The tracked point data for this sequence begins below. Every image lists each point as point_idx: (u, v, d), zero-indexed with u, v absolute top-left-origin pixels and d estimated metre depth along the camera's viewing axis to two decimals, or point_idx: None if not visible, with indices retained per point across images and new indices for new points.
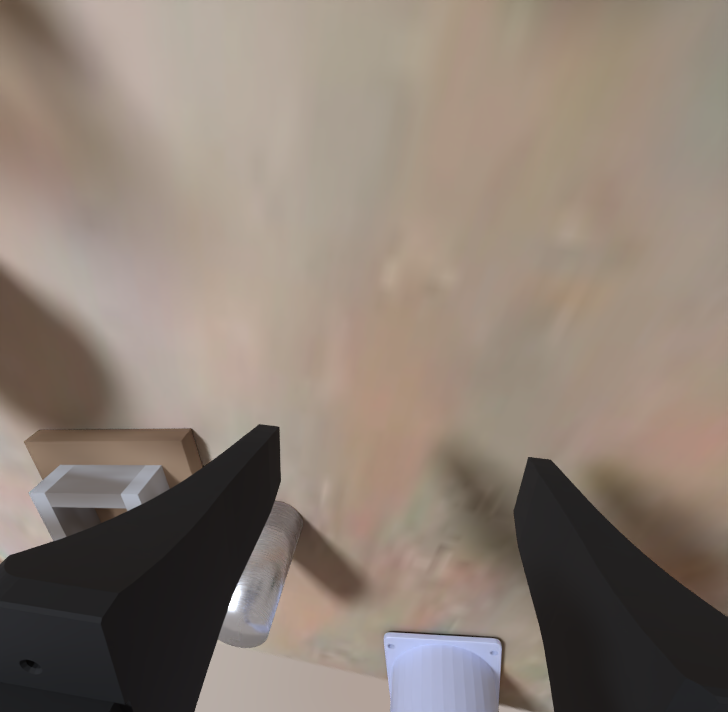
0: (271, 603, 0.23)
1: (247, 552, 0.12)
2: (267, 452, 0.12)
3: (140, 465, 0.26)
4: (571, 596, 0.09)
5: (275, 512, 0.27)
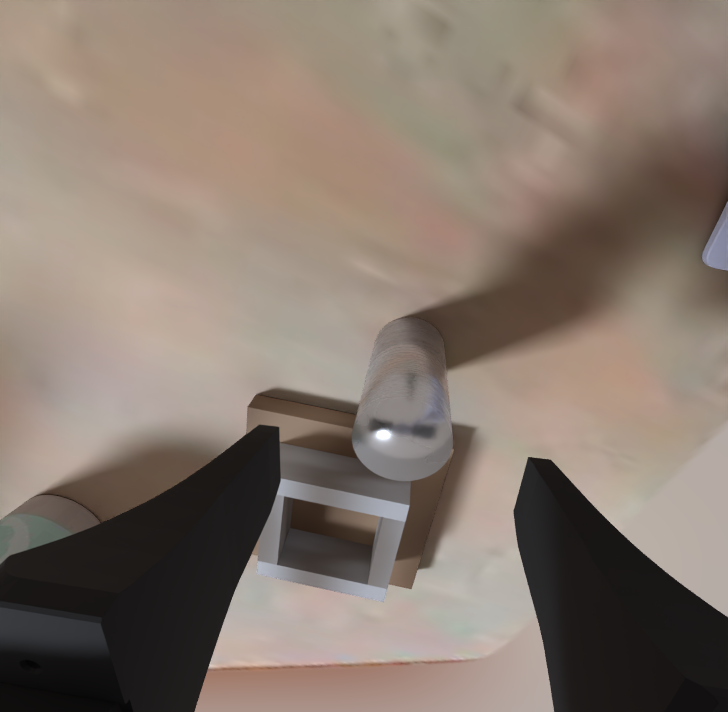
0: (399, 381, 0.15)
1: (247, 552, 0.12)
2: (267, 452, 0.12)
3: None
4: (571, 596, 0.09)
5: (375, 343, 0.20)
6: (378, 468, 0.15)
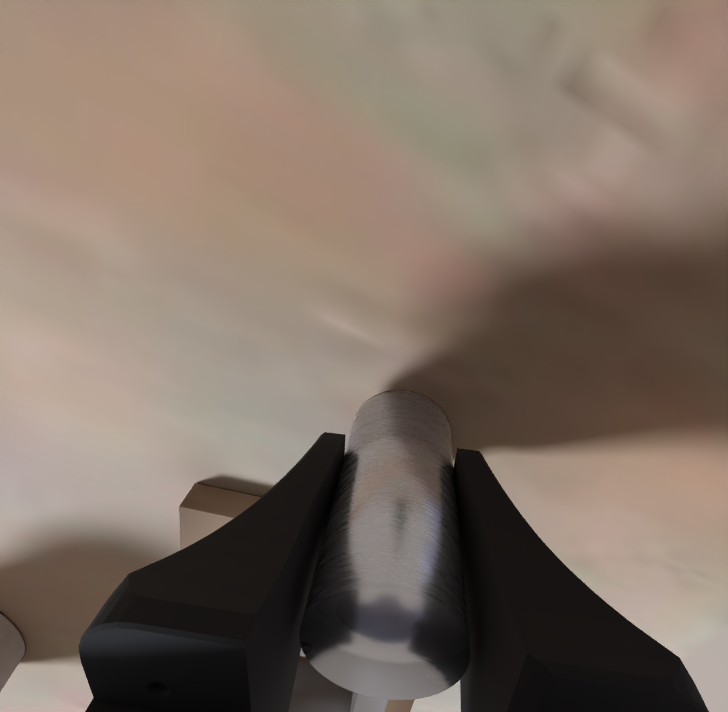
0: (380, 542, 0.09)
1: None
2: (338, 461, 0.12)
3: None
4: (475, 582, 0.09)
5: (352, 429, 0.14)
6: (345, 680, 0.09)
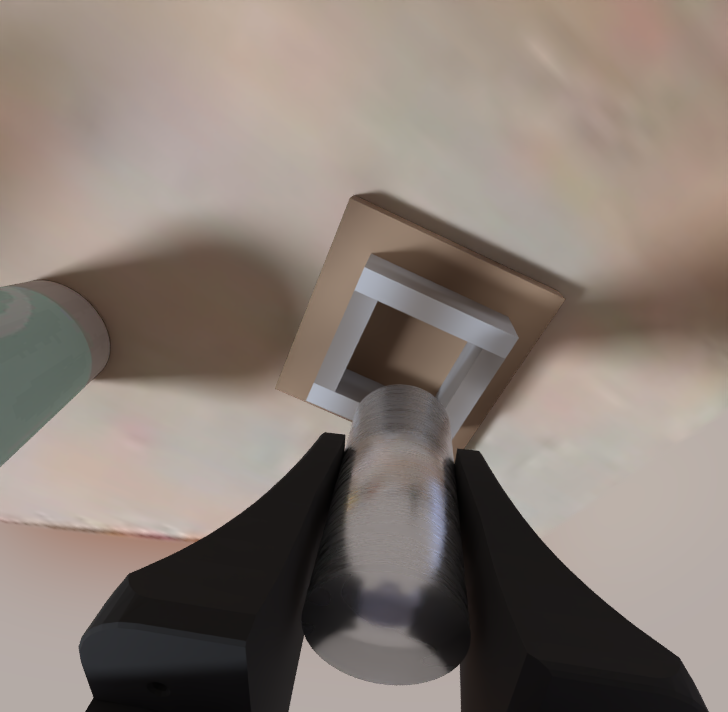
0: (386, 526, 0.09)
1: None
2: (338, 461, 0.12)
3: (359, 281, 0.20)
4: (475, 582, 0.09)
5: (354, 420, 0.14)
6: (343, 664, 0.09)
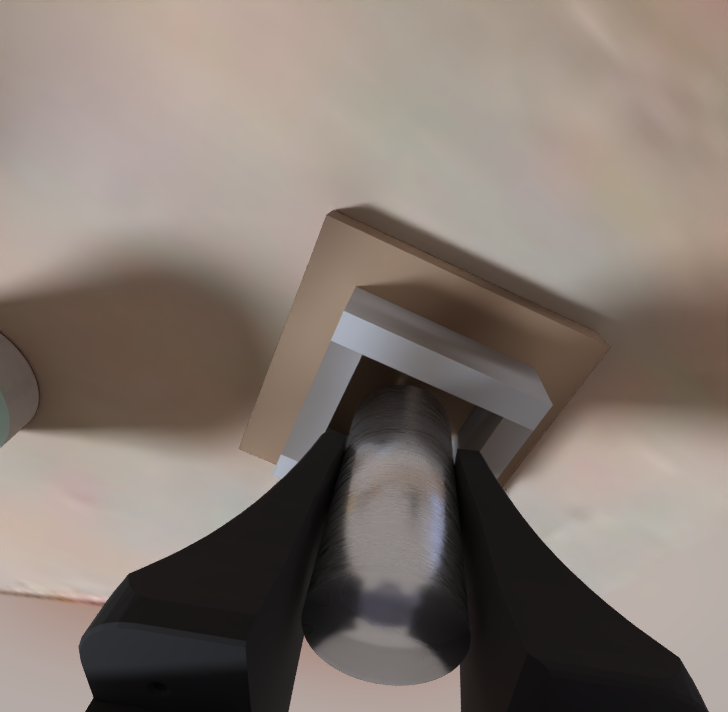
0: (386, 527, 0.09)
1: None
2: (338, 461, 0.12)
3: (340, 321, 0.15)
4: (475, 582, 0.09)
5: (354, 421, 0.14)
6: (344, 664, 0.09)
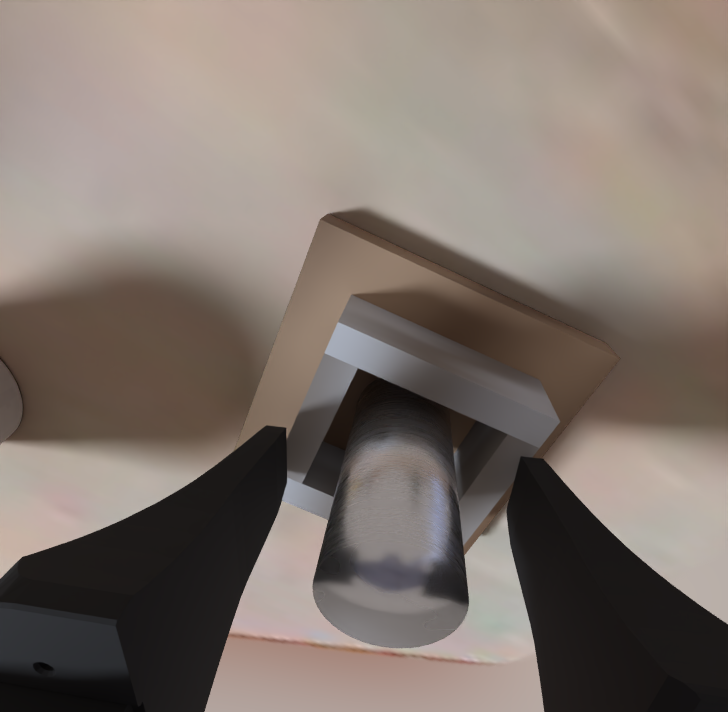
0: (390, 502, 0.09)
1: (255, 553, 0.12)
2: (274, 453, 0.12)
3: None
4: (561, 594, 0.09)
5: (358, 408, 0.15)
6: (351, 628, 0.10)
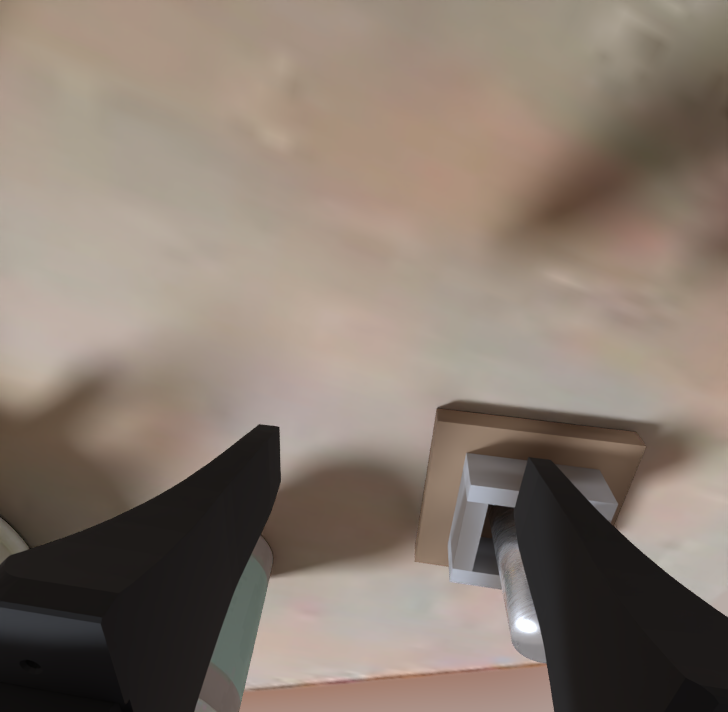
0: None
1: (247, 552, 0.12)
2: (267, 452, 0.12)
3: (462, 473, 0.24)
4: (571, 596, 0.09)
5: (490, 516, 0.23)
6: (537, 657, 0.18)
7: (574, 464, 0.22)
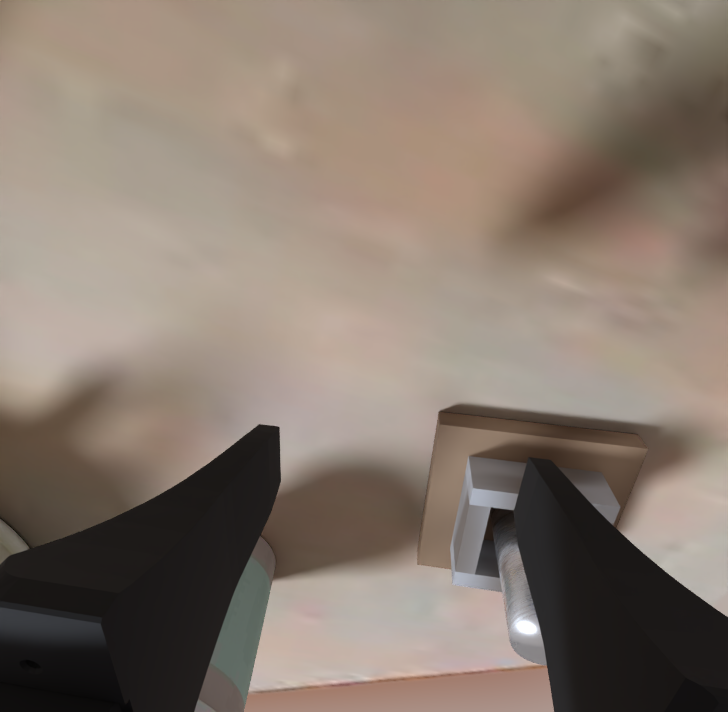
0: None
1: (247, 552, 0.12)
2: (267, 452, 0.12)
3: (464, 476, 0.24)
4: (571, 596, 0.09)
5: (492, 518, 0.23)
6: (536, 659, 0.18)
7: (576, 467, 0.22)
